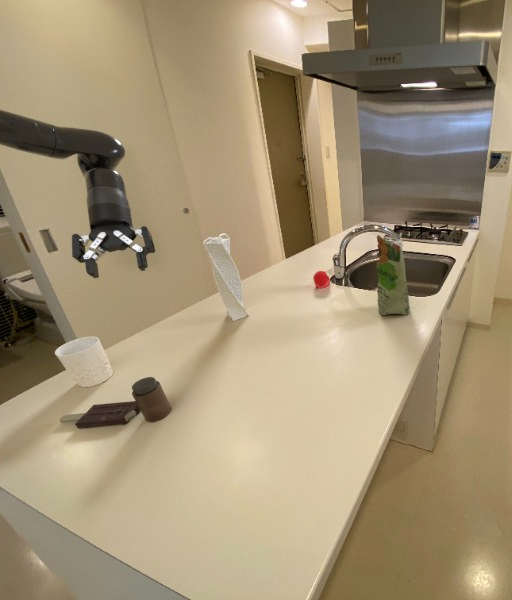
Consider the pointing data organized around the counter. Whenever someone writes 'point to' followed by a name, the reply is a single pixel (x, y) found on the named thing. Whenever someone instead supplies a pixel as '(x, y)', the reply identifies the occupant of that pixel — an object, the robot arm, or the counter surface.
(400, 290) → the pouch
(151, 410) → the pepper mill
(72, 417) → the ice cream bar
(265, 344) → the counter surface
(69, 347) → the white cup
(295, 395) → the counter surface
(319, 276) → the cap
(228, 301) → the skyscraper
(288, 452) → the counter surface
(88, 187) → the robot arm
